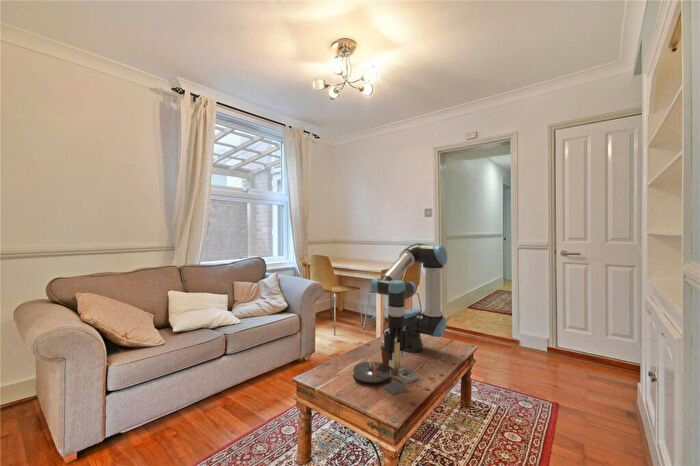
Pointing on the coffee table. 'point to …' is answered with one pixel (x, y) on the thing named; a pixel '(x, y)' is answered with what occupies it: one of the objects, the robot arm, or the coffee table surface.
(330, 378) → the coffee table surface
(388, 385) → the rest pad
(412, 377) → the grey square frame
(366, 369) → the compass
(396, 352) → the yellow tall cylinder
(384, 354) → the disposable coffee cup
